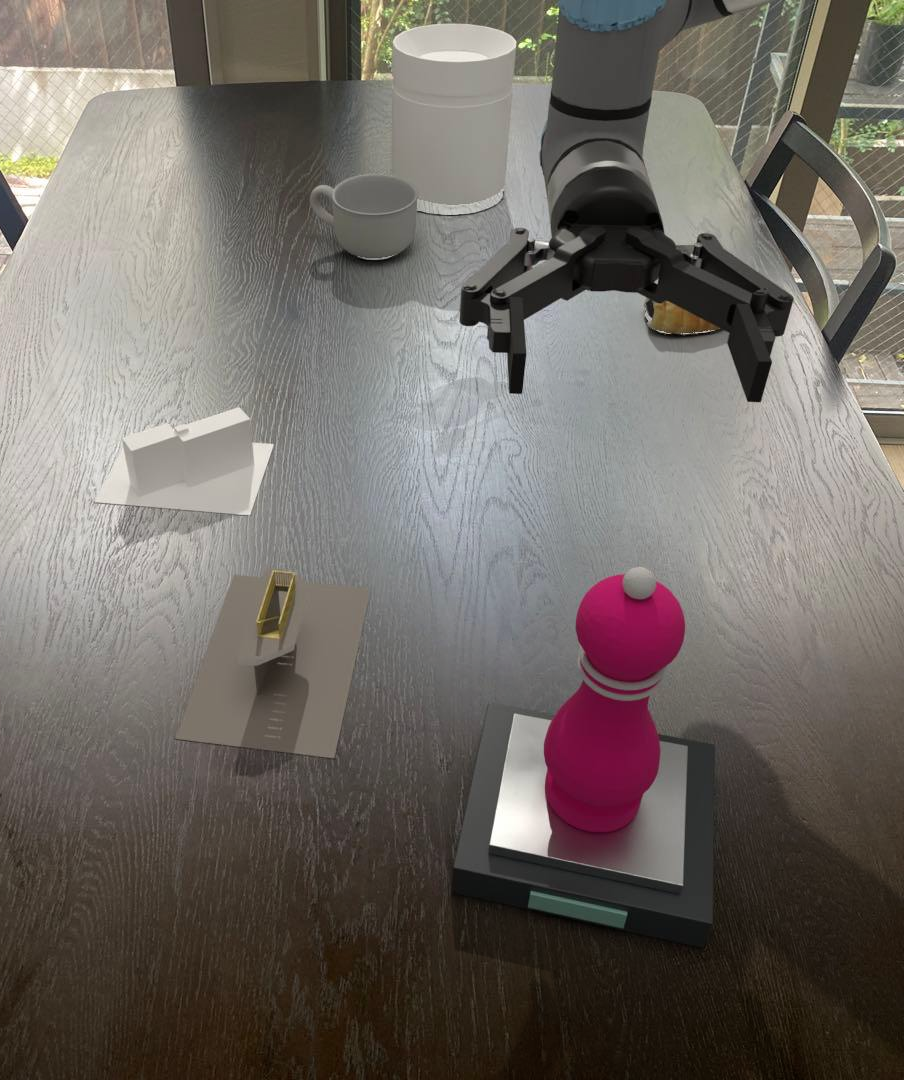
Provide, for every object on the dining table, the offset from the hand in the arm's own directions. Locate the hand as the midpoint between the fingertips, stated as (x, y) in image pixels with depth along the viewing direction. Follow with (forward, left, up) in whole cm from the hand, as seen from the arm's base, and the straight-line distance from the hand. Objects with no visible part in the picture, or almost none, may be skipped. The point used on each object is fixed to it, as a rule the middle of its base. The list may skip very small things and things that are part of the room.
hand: (638, 378), depth 61 cm
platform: (+23, 0, -30) cm, 38 cm away
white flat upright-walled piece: (+39, -21, -30) cm, 54 cm away
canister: (+27, -91, -30) cm, 100 cm away
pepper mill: (-2, +10, -26) cm, 28 cm away
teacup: (+34, -71, -30) cm, 85 cm away
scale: (-2, +10, -30) cm, 32 cm away
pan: (-2, +10, -27) cm, 29 cm away
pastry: (-6, -61, -30) cm, 69 cm away
